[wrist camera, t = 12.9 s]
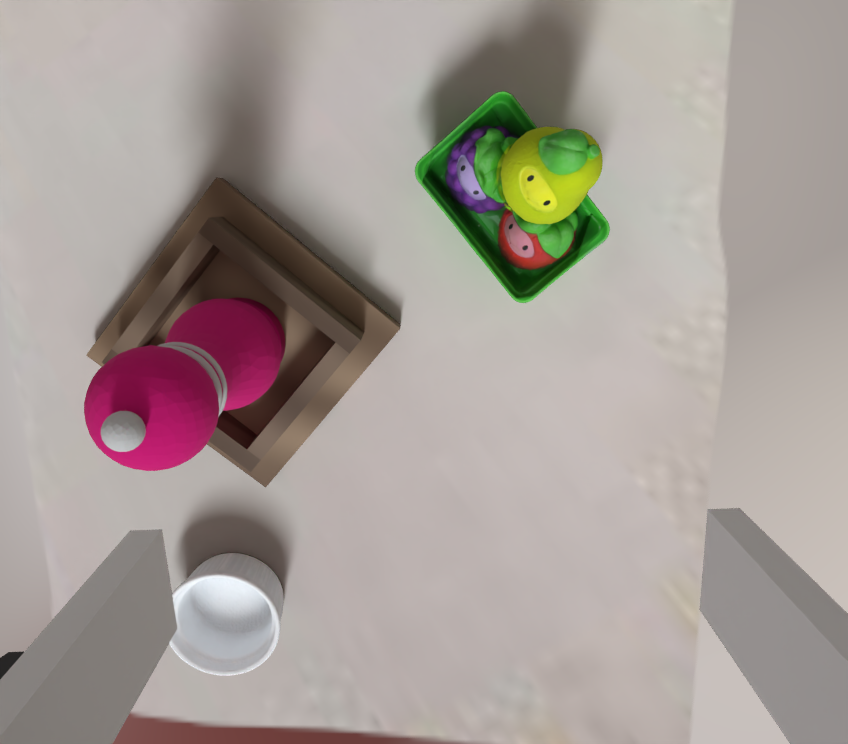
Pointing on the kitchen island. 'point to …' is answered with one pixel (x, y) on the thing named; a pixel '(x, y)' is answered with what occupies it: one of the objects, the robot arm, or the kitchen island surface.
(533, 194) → the fruit basket
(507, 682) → the kitchen island surface
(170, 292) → the walnut stand
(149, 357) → the pepper mill
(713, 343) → the kitchen island surface
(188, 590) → the ramekin
